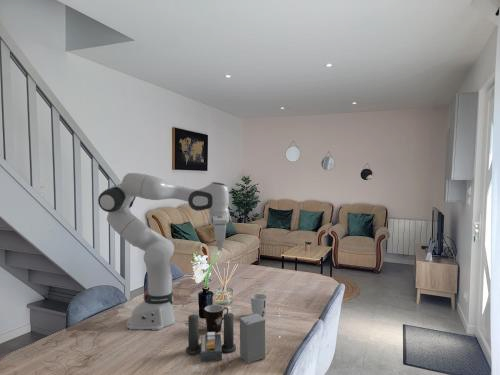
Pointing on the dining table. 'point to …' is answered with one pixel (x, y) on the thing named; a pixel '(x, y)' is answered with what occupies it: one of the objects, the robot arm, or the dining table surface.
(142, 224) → the robot arm
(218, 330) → the coffee mug
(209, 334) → the paddle
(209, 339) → the paddle mid
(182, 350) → the dining table surface
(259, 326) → the skincare box
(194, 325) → the post
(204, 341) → the dark grey boxy piece
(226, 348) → the post
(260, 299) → the cup
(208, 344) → the paddle
